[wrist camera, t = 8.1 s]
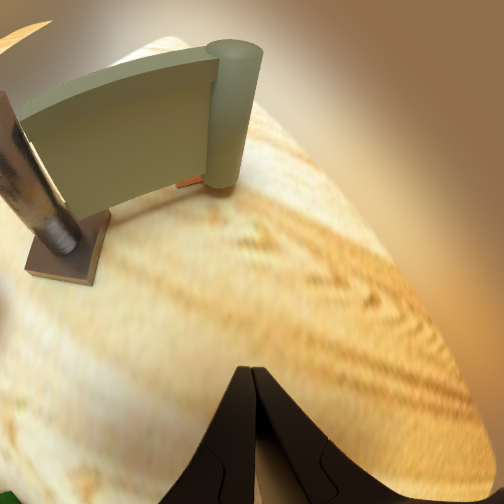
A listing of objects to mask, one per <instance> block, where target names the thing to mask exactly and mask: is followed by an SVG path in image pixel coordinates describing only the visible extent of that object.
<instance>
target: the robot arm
mask: <svg viewBox="0 0 504 504" xmlns="http://www.w3.org/2000/svg"><path fill="white" fill-rule="evenodd" d="M255 469H256V474H257V479H258V484H259V489H260V494H261V499H262V504H504V487H501V488H499V489H498V490H496V491H495V492H494V493H493V494H491V495H490V496H489V497H487V498H486V499H483V500H480V501H475V502H447V501H432V500H422V499H414V498H409V497H405V496H403V495H400V494H398V493H396V492H394V491H393V490H391V489H390V488H388V487H387V486H385V485H384V484H382V483H381V482H380V481H378V480H377V479H375V478H374V477H373V476H371V475H370V474H368V473H367V472H366V471H364V470H363V469H362V468H361V467H359V466H358V465H357V464H356V463H354V462H353V461H352V460H351V459H349V458H348V457H347V456H346V455H345V454H344V453H343V452H342V451H341V450H340V449H339V448H338V447H337V446H336V445H335V444H334V443H333V442H332V441H331V440H328V437H327V436H326V435H325V434H324V433H323V432H322V431H321V430H320V429H319V428H318V427H317V426H316V424H315V423H314V422H313V421H312V420H311V419H310V418H309V417H308V416H307V415H306V414H305V413H304V411H303V410H302V409H301V408H300V407H299V406H298V405H297V404H296V403H295V401H294V400H293V399H292V398H291V397H290V396H289V395H288V394H287V392H286V391H285V390H284V389H283V388H282V387H281V386H280V384H279V383H278V382H277V381H276V380H275V379H274V378H273V376H272V375H271V374H270V373H269V372H268V370H267V369H266V368H264V367H252V368H250V367H249V366H238V367H237V368H236V370H235V372H234V374H233V376H232V378H231V381H230V383H229V385H228V387H227V389H226V391H225V393H224V395H223V397H222V399H221V401H220V404H219V406H218V408H217V410H216V412H215V414H214V416H213V418H212V420H211V422H210V424H209V426H208V428H207V430H206V432H205V434H204V436H203V438H202V440H201V443H199V445H198V447H197V449H196V451H195V453H194V455H193V457H192V458H191V460H190V462H189V464H188V465H187V467H186V468H185V470H184V471H183V473H182V474H181V475H180V477H179V478H178V480H177V481H176V482H175V483H174V485H173V486H172V487H171V488H170V490H169V491H168V492H167V493H166V495H165V496H164V497H163V498H162V499H161V501H160V502H159V503H158V504H254V484H255Z"/></svg>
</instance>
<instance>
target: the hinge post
mask: <svg viewBox="0 0 504 504" xmlns="http://www.w3.org/2000/svg"><path fill="white" fill-rule="evenodd" d="M0 196H1V197H2V198H3V199H4V201H5V202H6V203H7V204H8V205H9V207H10V208H11V209H12V210H13V211H14V213H15V214H16V215H17V216H18V217H19V218H20V220H21V221H22V222H23V223H24V224H25V225H26V226H27V227H28V228H29V230H30V231H31V232H32V233H33V234H34V235H35V237H34V240H33V243H32V246H31V249H30V252H29V255H28V258H27V262H26V265H25V269H24V270H26V271H27V272H28V273H30V274H31V275H33V276H38V277H44V278H49V279H55V280H60V281H66V282H72V283H78V284H84V285H90V286H92V285H93V280H94V276H95V271H96V267H97V263H98V259H99V255H100V251H101V247H102V243H103V240H104V236H105V233H106V229H107V226H108V222H109V219H110V216H111V212H110V210H109V208H108V209H105V210H103V211H100V212H98V213H96V214H93V215H91V216H89V217H86V218H84V219H82V220H79V221H78V220H77V218H76V217H75V215H74V214H73V212H72V211H71V209H70V208H69V206H68V205H67V203H63V202H62V200H61V198H60V197H59V195H58V194H57V192H56V190H55V189H54V187H53V186H52V184H51V182H50V181H49V179H48V177H47V175H46V174H45V172H44V170H43V169H42V167H41V165H40V163H39V161H38V160H37V158H36V156H35V154H34V152H33V150H32V149H31V147H30V145H29V143H28V141H27V139H26V137H25V135H24V133H23V131H22V129H21V127H20V125H19V122H18V120H17V118H16V116H15V114H14V112H13V109H12V107H11V105H10V102H9V100H8V97H7V95H6V93H5V91H0Z"/></svg>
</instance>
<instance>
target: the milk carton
mask: <svg viewBox="0 0 504 504" xmlns="http://www.w3.org/2000/svg"><path fill="white" fill-rule="evenodd" d="M0 504H21V503H20V502H19V501H18V499H17V498H16V497H15V496H14V494H13V493H12V492H11V491H9V492H5V493H0Z"/></svg>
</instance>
